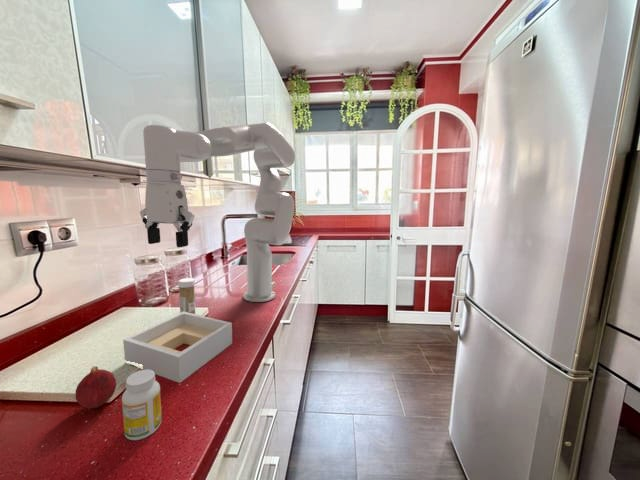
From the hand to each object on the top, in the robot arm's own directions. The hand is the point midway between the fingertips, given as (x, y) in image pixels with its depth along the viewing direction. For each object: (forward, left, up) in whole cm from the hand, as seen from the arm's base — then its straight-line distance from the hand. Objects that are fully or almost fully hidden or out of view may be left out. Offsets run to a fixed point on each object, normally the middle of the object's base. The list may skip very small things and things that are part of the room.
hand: (168, 244), depth 70 cm
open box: (+4, +8, -27) cm, 28 cm away
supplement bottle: (+23, +20, -27) cm, 41 cm away
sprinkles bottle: (-10, -5, -27) cm, 29 cm away
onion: (+23, +8, -27) cm, 36 cm away
